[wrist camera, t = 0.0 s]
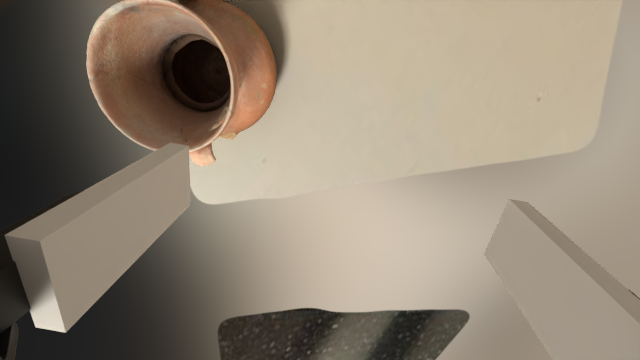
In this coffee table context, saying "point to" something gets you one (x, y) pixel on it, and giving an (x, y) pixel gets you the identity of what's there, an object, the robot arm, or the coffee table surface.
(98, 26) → the ceramic jug
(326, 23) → the coffee table surface
